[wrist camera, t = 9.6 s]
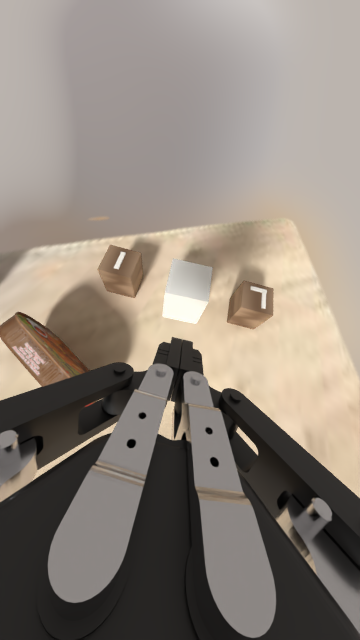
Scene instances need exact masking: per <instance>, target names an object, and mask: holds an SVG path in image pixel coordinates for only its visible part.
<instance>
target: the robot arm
mask: <svg viewBox="0 0 360 640" xmlns="http://www.w3.org/2000/svg"><path fill="white" fill-rule="evenodd" d="M171 395H172V396H171ZM170 398H171V401H173V402H175V406H174V409H173V413H172V440H169V439H167V438H165V437H163V436H161V435H159V434H158V430H159V427H160V423H161V419H162V416H163V412H164V408H165V407H166V404H167V401H170ZM99 399H101V400H99ZM97 400H99V401H97ZM95 401H97V402H95ZM93 402H95V403H93ZM91 403H93V404H91ZM89 404H90V405H89ZM87 405H88V406H87ZM85 406H86V407H85ZM116 422H117V424H116V426H115V428H114V430H113V432H112V433H110V434H107V435H104V436H101V437H99V438H97V439H95V440H94V441H92V442H90V443H89V444H87V445H86V446H84V447H83V448H81V449H80V450H78V451H77V452H75V453H74V454H72V455H71V456H69V457H68V458H66V459H65V460H63V461H62V462H60V463H59V464H57V465H56V466H54V467H53V468H51V469H50V470H48V471H47V472H45V473H44V474H42V475H41V476H39V477H38V478H36V479H35V480H33V478H34V476H35V474H36V472H37V470H38V469H40V468H42V467H43V466H45V465H47V464H48V463H50V462H52V461H53V460H55V459H57V458H58V457H60V456H62V455H63V454H65V453H67V452H68V451H70V450H71V449H73V448H75V447H76V446H78V445H80V444H81V443H83V442H85V441H86V440H88V439H90V438H91V437H93V436H95V435H96V434H98V433H100V432H101V431H103V430H104V429H106V428H108V427H109V426H111V425H113V424H114V423H116ZM238 427H239V428H240V429H241V430H242V431H243V432H244V433H245V434H246V435H247V436H248V437H249V438H250V440H251V441H252V442H253V443H254V444H255V445H256V447H257V449H258V455H257V454H256V453H255V452H254V451H253V450H252V449H251V448H250V447H249V446H248V444H247V443H246V442H245V441H244V440H243V439H242V438H241V437H240V436H239V434H238V433H237V432H236V430H237V428H238ZM32 480H33V481H32ZM31 481H32V482H31ZM0 640H360V498H359V497H358V496H356V495H355V494H354V493H353V492H352V491H351V490H350V489H349V488H347V487H346V486H345V485H344V484H343V483H342V482H341V481H340V480H339V479H337V478H336V477H335V476H334V475H333V474H332V473H331V472H330V471H328V470H327V469H326V468H325V467H324V466H323V465H322V464H321V463H319V462H318V461H317V460H316V459H315V458H314V457H313V456H312V455H310V454H309V453H308V452H307V451H306V450H305V449H304V448H303V447H301V446H300V445H299V444H298V443H297V442H296V441H295V440H294V439H292V438H291V437H290V436H289V435H288V434H287V433H286V432H285V431H283V430H282V429H281V428H280V427H279V426H278V425H277V424H276V423H274V422H273V421H272V420H271V419H270V418H269V417H268V416H267V415H265V414H264V413H263V412H262V411H261V410H260V409H259V408H258V407H256V406H255V405H254V404H253V403H252V402H251V401H250V400H249V399H248V398H246V397H245V396H244V395H243V394H242V393H240V392H239V391H237V390H235V389H231V388H227V389H224V390H223V391H222V393H221V392H219V391H217V390H215V389H213V388H211V387H210V386H209V385H208V381H207V379H206V378H205V377H204V376H203V365H202V355H201V353H200V352H199V351H198V350H195V349H193V342H191V341H187V340H182V339H178V338H174V337H172V340H171V344H170V343H166V342H163V343H161V344H160V345H159V347H158V350H157V353H156V356H155V359H154V362H153V365H151V366H150V367H149V369H148V370H146V371H143V372H134V371H133V368H132V367H131V366H130V365H128V364H126V363H120V362H118V363H112V364H109V365H106V366H103V367H100V368H97V369H94V370H91V371H88V372H85V373H82V374H79V375H76V376H73V377H70V378H67V379H64V380H61V381H58V382H55V383H52V384H49V385H46V386H43V387H40V388H37V389H34V390H31V391H28V392H25V393H22V394H19V395H16V396H13V397H10V398H7V399H4V400H1V401H0Z"/></svg>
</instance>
